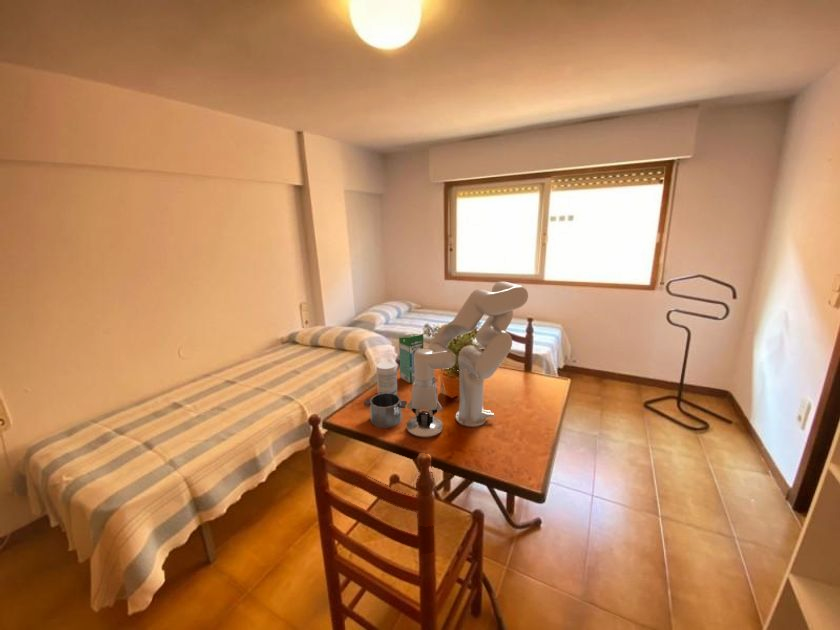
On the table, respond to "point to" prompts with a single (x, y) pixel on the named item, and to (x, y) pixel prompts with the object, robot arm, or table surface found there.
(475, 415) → the robot arm
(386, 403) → the stockpot
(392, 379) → the supplement tub
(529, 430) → the table surface
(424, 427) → the lid
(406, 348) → the milk carton
